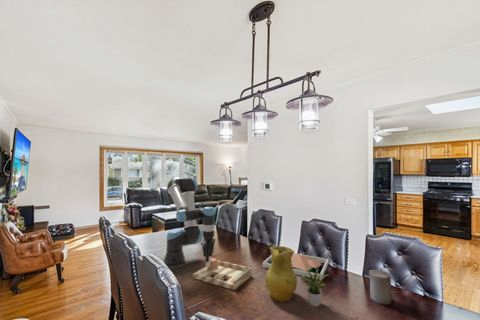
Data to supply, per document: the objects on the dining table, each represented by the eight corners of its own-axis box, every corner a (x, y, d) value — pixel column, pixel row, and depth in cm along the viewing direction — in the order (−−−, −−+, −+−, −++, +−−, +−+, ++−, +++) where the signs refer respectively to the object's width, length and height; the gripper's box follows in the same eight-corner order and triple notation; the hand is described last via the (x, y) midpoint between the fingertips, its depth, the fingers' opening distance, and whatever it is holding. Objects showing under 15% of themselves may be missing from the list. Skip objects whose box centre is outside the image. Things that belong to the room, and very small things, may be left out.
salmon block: (206, 267, 156) (206, 260, 157) (211, 265, 161) (211, 257, 161) (212, 269, 154) (212, 261, 154) (217, 266, 158) (217, 259, 158)
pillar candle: (393, 299, 123) (391, 270, 123) (389, 307, 115) (388, 276, 116) (372, 293, 129) (371, 265, 130) (368, 300, 122) (367, 271, 123)
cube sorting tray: (193, 277, 147) (193, 269, 147) (212, 266, 165) (212, 259, 165) (235, 290, 132) (235, 281, 132) (251, 275, 150) (251, 267, 150)
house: (311, 277, 147) (310, 264, 147) (268, 263, 169) (268, 252, 169) (325, 267, 164) (325, 255, 164) (285, 255, 186) (285, 245, 186)
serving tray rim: (262, 267, 163) (262, 262, 163) (277, 253, 190) (277, 250, 190) (321, 280, 144) (321, 275, 144) (328, 263, 170) (328, 259, 170)
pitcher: (258, 294, 127) (260, 247, 128) (278, 284, 140) (280, 242, 141) (284, 308, 114) (286, 257, 116) (303, 296, 127) (305, 250, 129)
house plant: (324, 295, 126) (324, 264, 127) (336, 310, 113) (335, 276, 113) (299, 295, 126) (298, 265, 127) (307, 311, 112) (306, 276, 113)
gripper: (207, 233, 148) (207, 271, 147) (218, 229, 159) (218, 263, 158) (198, 232, 151) (197, 268, 150) (209, 227, 163) (209, 261, 162)
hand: (208, 266), depth 154 cm, fingers closed
